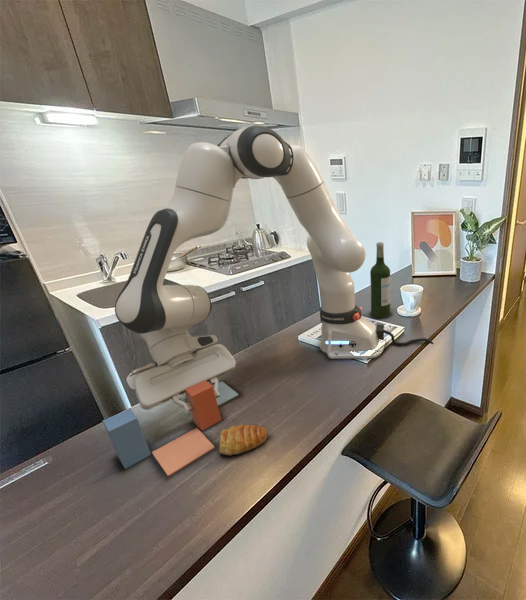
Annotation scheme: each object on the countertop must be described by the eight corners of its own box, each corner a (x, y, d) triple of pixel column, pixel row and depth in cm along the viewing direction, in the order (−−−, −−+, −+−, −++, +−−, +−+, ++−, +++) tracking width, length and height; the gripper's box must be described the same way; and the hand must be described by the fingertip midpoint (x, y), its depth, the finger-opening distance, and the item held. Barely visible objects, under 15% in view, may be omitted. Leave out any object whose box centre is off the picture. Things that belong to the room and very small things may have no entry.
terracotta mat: (151, 453, 69) (151, 452, 69) (197, 428, 76) (196, 427, 76) (168, 476, 64) (167, 475, 64) (215, 448, 71) (214, 446, 71)
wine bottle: (376, 309, 140) (375, 239, 128) (393, 312, 137) (393, 241, 125) (367, 316, 133) (365, 243, 122) (384, 319, 130) (384, 246, 118)
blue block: (118, 457, 68) (102, 420, 64) (143, 444, 71) (129, 408, 68) (125, 469, 66) (108, 431, 62) (151, 454, 69) (137, 418, 65)
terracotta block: (193, 422, 78) (183, 388, 74) (212, 411, 81) (204, 378, 77) (201, 431, 75) (191, 396, 71) (221, 420, 78) (212, 386, 74)
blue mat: (187, 398, 85) (187, 397, 85) (222, 382, 92) (222, 381, 92) (203, 414, 80) (202, 412, 80) (238, 395, 87) (238, 394, 87)
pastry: (267, 427, 77) (265, 414, 75) (267, 449, 71) (264, 435, 69) (223, 436, 74) (220, 424, 72) (219, 460, 68) (215, 447, 66)
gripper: (122, 369, 68) (152, 427, 66) (221, 332, 83) (248, 379, 81) (122, 379, 72) (150, 433, 70) (217, 342, 87) (242, 386, 85)
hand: (204, 404), depth 76 cm, fingers closed on terracotta block, 4 cm apart
